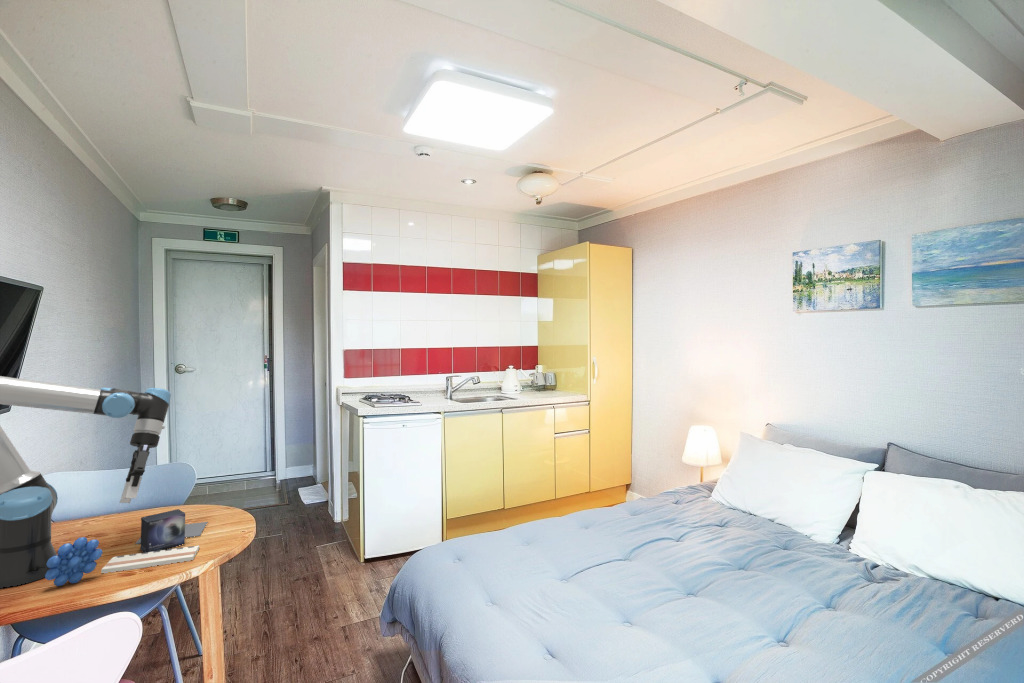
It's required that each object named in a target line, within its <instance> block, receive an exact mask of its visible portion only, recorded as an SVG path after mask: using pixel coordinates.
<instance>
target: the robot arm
mask: <svg viewBox="0 0 1024 683" xmlns="http://www.w3.org/2000/svg"><path fill="white" fill-rule="evenodd" d="M171 396H172V394H171V391H169V390H167V389H165V388H159V387H149V388H147V389H145V391H144V392H136V391H131V390H125V389H119V388H114V387H101V388H100V389H98V388H93V387H92V388H91V387H90V388H89V387H85V386H84V387H83V386H76V385H70V384H61V383H54V382H47V381H46V382H45V381H40V380H30V379H26V378H25V379H24V378H19V377H18V378H16V377H10V376H4V375H3V376H2V375H0V405H4V406H14V407H16V406H17V407H23V408H31V409H32V408H33V409H43V410H50V411H51V410H52V411H62V412H72V413H82V414H88V415H89V414H90V415H96V416H97V415H98V416H104V417H105V416H106V417H110V418H112V419H115V418H116V419H120V418H124V417H127V416H128V415H132V416H137V419H136V421H135V425H134V427H133V433H132V435H131V439H130V441H129V444H130V446H132V447H137V449H136V450H134V451H133V454H132V458H131V461H130V464H131V465H130V467H129V470H128V474H127V477H125V483H124V487H123V491H122V494H121V497H120V501H119V503H121V504H130V503H131V502H132V499H137V496H138V492H139V489H140V485H141V483H142V482H141V481H142V479H143V475H144V473H145V472H146V470H145V469H146V466H147V460H148V458H149V455H150V449H153V448H157V447H158V445H159V442H160V439H161V438H160V436H161V433H162V430H164V429H165V428H166V427H165V426H164V423H165V420H166V417H167V412H168V409H169V407H170V403H171V402H170V401H171ZM45 479H46V478H44V476H43V474H42V473H41V472H40V471H34V470H31V469H30V468H29V466H28V465H27V463H26V462H25V460H24V459H23V457H22V456H21V454H20V453H19V451H18V450H17V449H16V447H15V446H14V444H13V442H12V440H10V438H9V436H8V435H7V433H6V432H5V431H4V429H3V428H2V426H1V425H0V589H4V588H3V587H7V588H11V587H10V586H13V587H17V585H18V586H21V584H22V585H25V583H26V584H29V583H32V582H35V581H39V580H41V579H45V574H46V573H47V571H48V570H50V569H51V568H48V567H47V565H46V563H47V561H48V560H49V559H50V558H51V557H53V556H55V555H58V553H57V552H56V550H55V547H54V546H53V543H52V515H53V513H54V510H55V508H56V506H57V504H58V492H57V490H56V489H55V488H54V486H53V485H51V484H50V483H48V482H47V480H45Z"/></svg>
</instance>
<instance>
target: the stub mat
mask: <svg viewBox="0 0 1024 683" xmlns="http://www.w3.org/2000/svg"><path fill="white" fill-rule="evenodd" d="M207 523H209V521H204V522H203V521H202V522H194V523H185V539H187V538H186V537H192V538H195V537H194V536H200V537H201V535H202V534H203V532H204V530H205V529H204V528H206V527H207V525H208V524H207ZM206 524H207V525H206ZM205 526H206V527H205ZM202 531H203V532H202ZM201 533H202V534H201ZM135 544H138V545H141V536H140V537H139V538H138V539H137V540H136V542H135V543H134V545H135Z"/></svg>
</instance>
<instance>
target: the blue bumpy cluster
mask: <svg viewBox="0 0 1024 683" xmlns="http://www.w3.org/2000/svg"><path fill="white" fill-rule="evenodd" d="M99 545H100V540H98V539H96V538H95V539H90V540H89V541H88V538H87V537H86V536H82V537H78V538H77V539H75V540H74V541H73V544H72V543H71V542H68V543H63V544H62V545H61V546H60V547H58V550H57V555H55V556H53V557H51V558H50V559H49V560H48V561H47V563H46V565H47V567H48V568H51V569H50V570H48V571H47V573H46V574H45V577H44V579H45V580H47V581H52V580H54V581H53V585H54V586H56V587H60V586H64V585H65V584H66V583H67V582H69V583H70V584H77V583H79V582H80V581H81V580H82V578H83V577H84V574H89V573H92V572H93V571H94V570H95V569H96V567H97V562H96V561H97V560H99V559H100V558H101V557H102V555H103V553H104V552H103V549H101V548H98V547H99Z"/></svg>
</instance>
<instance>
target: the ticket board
mask: <svg viewBox="0 0 1024 683" xmlns="http://www.w3.org/2000/svg"><path fill="white" fill-rule="evenodd" d="M197 551H198V552H199V551H200V545H192V546H185V547H184V546H183V547H175V548H170V549H167V550H161V551H153V552H146V553H144V552H142V553H141V552H140V553H139V552H138V553H132V554H125V555H117V556H113V557H112V558H111V559H110V560H109V561H108V562H107V563H106V564H105V565H103V567H102V568H101V570H100V572H101V573H104V574H109V573H108V572H111V573H115V572H116V571H118V572H123V570H124V571H131V570H138V569H144V568H151V566H152V567H158V566H157V565H159V566H164V565H165V564H166V565H172V564H171V563H173V564H178V563H177V562H180V563H185V562H184V561H187V562H191V561H190V560H193V561H194V560H195V558H194V557H196V556H197V554H198V552H197ZM196 553H197V554H196ZM195 555H196V556H195ZM116 573H117V572H116Z"/></svg>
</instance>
